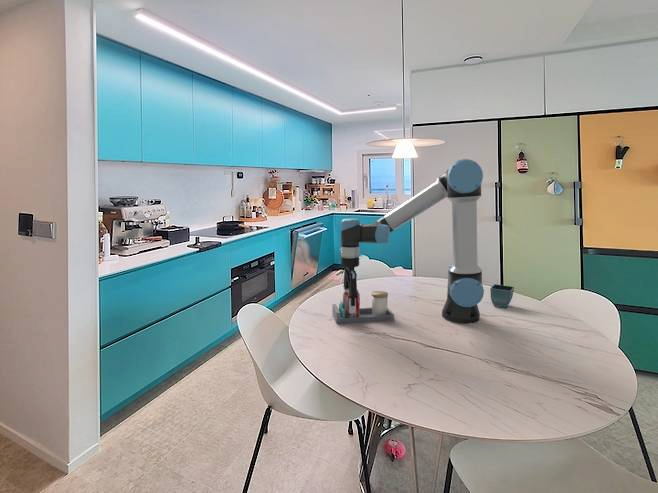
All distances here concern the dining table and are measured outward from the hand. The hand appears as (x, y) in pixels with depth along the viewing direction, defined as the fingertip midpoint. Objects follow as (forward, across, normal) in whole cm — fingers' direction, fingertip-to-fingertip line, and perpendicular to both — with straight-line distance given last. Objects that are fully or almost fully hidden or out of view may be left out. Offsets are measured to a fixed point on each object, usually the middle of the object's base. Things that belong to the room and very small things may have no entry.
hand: (350, 308), depth 154 cm
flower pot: (+5, -5, +72) cm, 73 cm away
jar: (+4, 0, +13) cm, 13 cm away
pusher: (+4, 0, -4) cm, 5 cm away
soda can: (+4, 0, 0) cm, 4 cm away
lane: (+4, 0, +5) cm, 7 cm away
